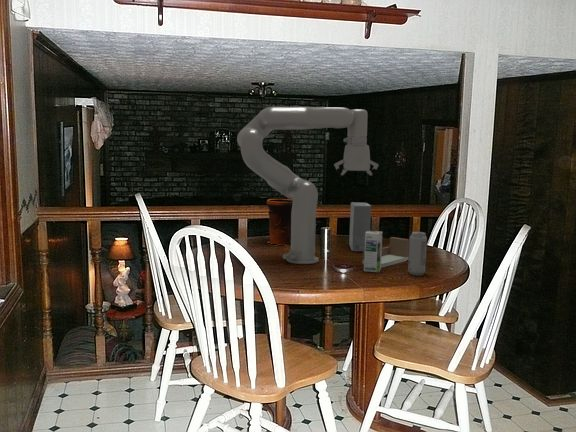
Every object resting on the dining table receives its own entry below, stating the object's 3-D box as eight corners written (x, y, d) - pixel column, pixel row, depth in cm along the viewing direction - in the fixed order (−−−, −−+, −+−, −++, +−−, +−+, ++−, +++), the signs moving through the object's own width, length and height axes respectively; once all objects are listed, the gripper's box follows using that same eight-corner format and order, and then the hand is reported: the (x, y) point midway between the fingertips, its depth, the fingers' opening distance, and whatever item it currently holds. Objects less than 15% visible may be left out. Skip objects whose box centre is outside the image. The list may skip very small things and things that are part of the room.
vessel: (264, 239, 260) (266, 197, 258) (294, 240, 262) (296, 198, 259) (265, 245, 246) (267, 201, 244) (297, 246, 247) (299, 202, 245)
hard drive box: (369, 252, 236) (371, 206, 234) (351, 251, 237) (353, 205, 234) (365, 245, 252) (367, 202, 249) (348, 245, 252) (350, 201, 249)
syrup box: (363, 271, 201) (364, 232, 199) (365, 268, 206) (367, 229, 204) (379, 273, 199) (380, 233, 197) (381, 269, 205) (382, 230, 203)
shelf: (382, 267, 208) (383, 245, 206) (362, 263, 214) (363, 242, 212) (408, 260, 221) (409, 239, 220) (388, 256, 227) (389, 236, 226)
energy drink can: (411, 271, 203) (413, 230, 201) (427, 273, 200) (429, 232, 198) (405, 274, 198) (407, 232, 196) (421, 276, 195) (423, 234, 193)
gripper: (336, 141, 211) (335, 186, 213) (381, 141, 211) (379, 186, 214) (333, 141, 218) (332, 184, 220) (377, 141, 219) (375, 184, 221)
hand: (355, 185), depth 217 cm, fingers open, 9 cm apart
